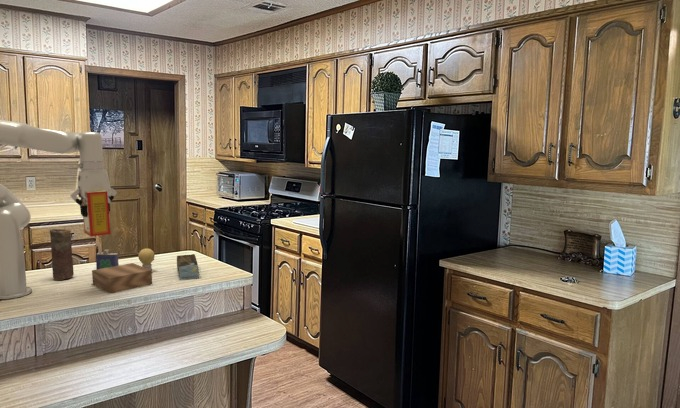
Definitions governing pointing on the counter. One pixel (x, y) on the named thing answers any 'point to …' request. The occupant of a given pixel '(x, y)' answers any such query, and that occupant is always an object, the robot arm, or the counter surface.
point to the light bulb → (146, 258)
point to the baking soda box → (97, 214)
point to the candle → (61, 254)
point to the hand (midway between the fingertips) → (95, 214)
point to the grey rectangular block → (187, 267)
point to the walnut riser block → (122, 277)
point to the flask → (106, 260)
